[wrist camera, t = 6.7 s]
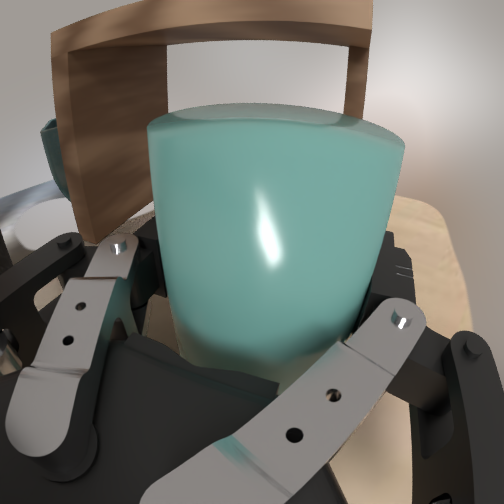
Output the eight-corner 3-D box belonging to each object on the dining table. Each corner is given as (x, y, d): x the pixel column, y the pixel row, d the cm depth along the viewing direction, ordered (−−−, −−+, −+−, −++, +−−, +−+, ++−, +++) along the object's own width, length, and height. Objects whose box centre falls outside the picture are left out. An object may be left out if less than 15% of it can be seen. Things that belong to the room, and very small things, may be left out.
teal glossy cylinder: (166, 415, 12) (89, 142, 5) (221, 323, 16) (217, 99, 10) (304, 462, 10) (425, 188, 4) (333, 353, 15) (393, 122, 9)
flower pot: (127, 172, 36) (120, 103, 31) (139, 198, 30) (130, 110, 25) (61, 189, 33) (48, 119, 28) (58, 219, 26) (39, 132, 21)
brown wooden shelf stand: (80, 239, 24) (50, 32, 14) (158, 184, 33) (149, 29, 23) (328, 305, 18) (373, -11, 9) (346, 217, 28) (370, 27, 18)
